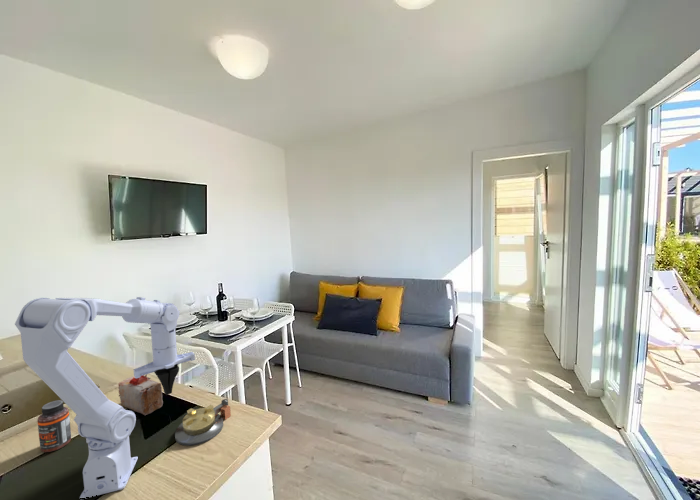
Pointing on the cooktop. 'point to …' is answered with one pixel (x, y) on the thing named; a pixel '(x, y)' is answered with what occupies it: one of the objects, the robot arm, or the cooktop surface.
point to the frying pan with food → (205, 436)
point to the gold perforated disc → (201, 419)
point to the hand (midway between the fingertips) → (168, 392)
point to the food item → (140, 394)
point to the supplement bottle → (54, 426)
